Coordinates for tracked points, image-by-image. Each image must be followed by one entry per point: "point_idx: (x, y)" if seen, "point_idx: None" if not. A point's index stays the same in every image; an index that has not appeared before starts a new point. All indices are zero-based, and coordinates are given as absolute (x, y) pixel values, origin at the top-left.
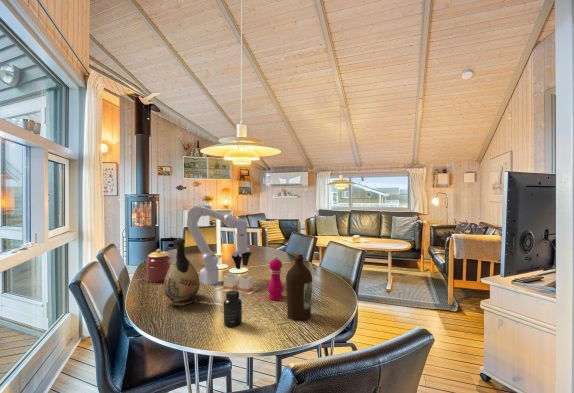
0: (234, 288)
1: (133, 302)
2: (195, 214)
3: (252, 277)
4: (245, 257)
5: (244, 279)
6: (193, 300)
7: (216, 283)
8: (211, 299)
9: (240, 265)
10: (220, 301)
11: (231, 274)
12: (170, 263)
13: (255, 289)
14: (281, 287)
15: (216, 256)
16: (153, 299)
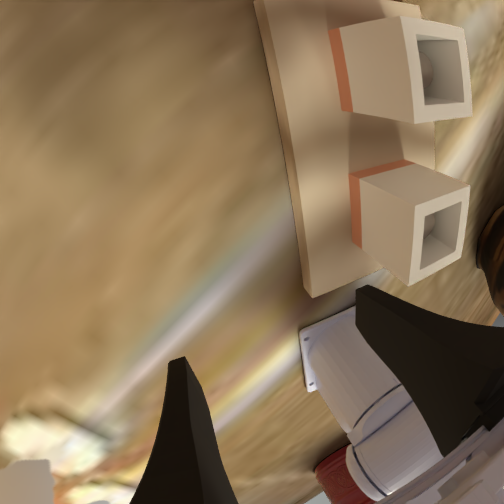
0: (386, 160)
1: (492, 320)
2: None
3: (408, 17)
4: (216, 475)
5: (466, 64)
6: (494, 214)
7: (353, 323)
8: (473, 172)
9: (389, 304)
10: (477, 120)
11: (415, 261)
12: (345, 498)
13: (332, 4)
14: None
15: (377, 494)
16: (481, 314)
